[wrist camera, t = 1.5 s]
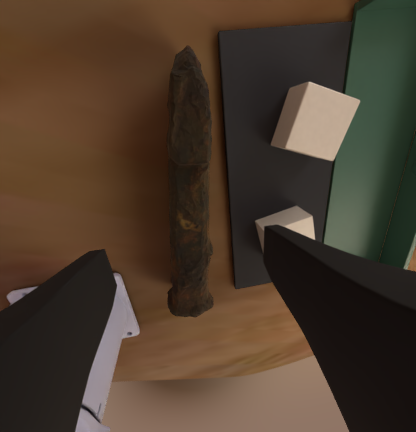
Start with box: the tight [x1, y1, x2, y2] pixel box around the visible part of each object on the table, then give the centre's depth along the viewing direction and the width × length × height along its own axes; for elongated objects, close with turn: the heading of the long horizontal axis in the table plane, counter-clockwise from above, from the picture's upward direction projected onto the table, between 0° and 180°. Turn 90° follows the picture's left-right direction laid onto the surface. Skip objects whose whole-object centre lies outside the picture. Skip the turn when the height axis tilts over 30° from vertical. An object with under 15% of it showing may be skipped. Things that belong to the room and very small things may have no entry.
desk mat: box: [218, 21, 352, 289], centre depth 18 cm, size 9×21×1 cm, turn 6°
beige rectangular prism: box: [271, 82, 360, 161], centre depth 15 cm, size 4×4×2 cm
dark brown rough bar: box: [167, 46, 214, 317], centre depth 15 cm, size 19×4×5 cm, turn 176°
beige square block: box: [255, 206, 315, 252], centre depth 18 cm, size 4×4×2 cm
